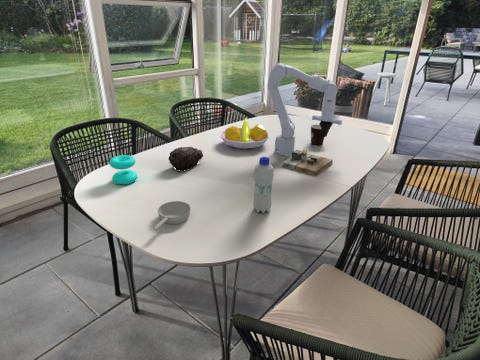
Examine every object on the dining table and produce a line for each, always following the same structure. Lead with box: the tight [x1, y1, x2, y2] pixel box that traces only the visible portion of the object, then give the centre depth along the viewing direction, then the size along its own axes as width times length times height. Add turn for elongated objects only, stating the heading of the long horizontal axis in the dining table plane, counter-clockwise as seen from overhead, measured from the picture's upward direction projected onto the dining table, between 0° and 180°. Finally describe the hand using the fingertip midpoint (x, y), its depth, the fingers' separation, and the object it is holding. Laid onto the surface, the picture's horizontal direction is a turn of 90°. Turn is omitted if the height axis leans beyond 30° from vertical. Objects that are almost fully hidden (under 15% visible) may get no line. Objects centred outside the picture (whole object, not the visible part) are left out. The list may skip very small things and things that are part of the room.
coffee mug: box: [310, 123, 325, 147], centre depth 179 cm, size 12×9×10 cm
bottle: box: [253, 156, 274, 214], centre depth 110 cm, size 7×7×20 cm
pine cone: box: [168, 146, 204, 172], centre depth 148 cm, size 10×18×10 cm, turn 152°
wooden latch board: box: [281, 152, 334, 177], centre depth 152 cm, size 17×18×2 cm
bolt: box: [300, 149, 308, 160], centre depth 153 cm, size 7×2×5 cm, turn 52°
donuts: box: [108, 154, 138, 185], centre depth 133 cm, size 10×10×10 cm
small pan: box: [153, 200, 191, 230], centre depth 105 cm, size 11×18×4 cm, turn 163°
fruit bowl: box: [220, 117, 270, 150], centre depth 176 cm, size 28×27×11 cm
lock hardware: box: [291, 149, 317, 164], centre depth 152 cm, size 11×5×3 cm, turn 52°
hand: (324, 136), depth 159 cm, fingers closed
